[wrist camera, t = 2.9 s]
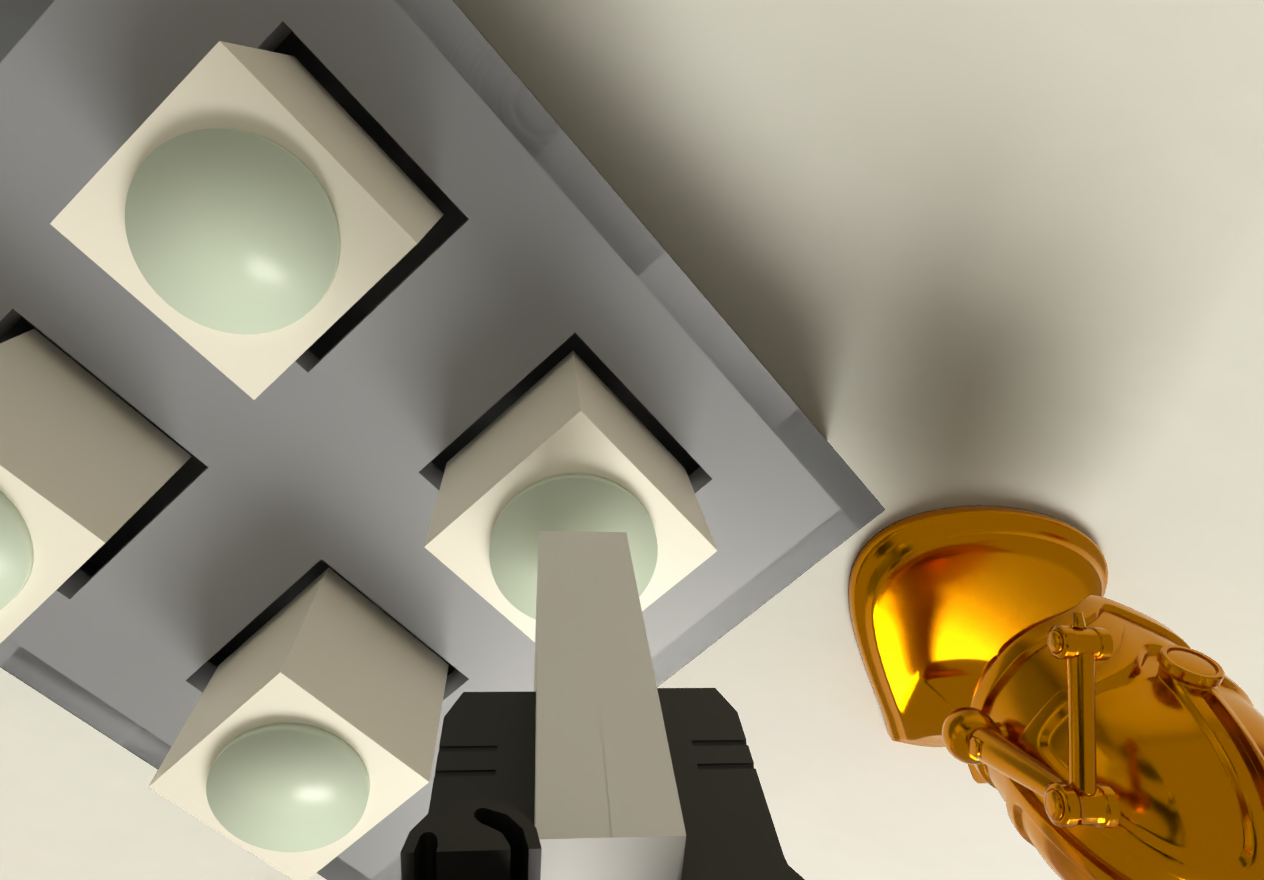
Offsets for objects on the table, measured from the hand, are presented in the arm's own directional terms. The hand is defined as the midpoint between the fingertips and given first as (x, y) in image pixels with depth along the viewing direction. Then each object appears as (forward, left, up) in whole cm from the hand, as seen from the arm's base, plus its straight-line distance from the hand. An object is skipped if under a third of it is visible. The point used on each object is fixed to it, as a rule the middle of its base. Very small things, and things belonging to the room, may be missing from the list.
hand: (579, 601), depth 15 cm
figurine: (+14, +5, -10) cm, 18 cm away
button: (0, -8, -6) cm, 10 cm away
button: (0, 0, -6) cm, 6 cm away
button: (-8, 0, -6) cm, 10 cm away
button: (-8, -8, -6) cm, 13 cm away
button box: (-4, -4, -10) cm, 11 cm away
